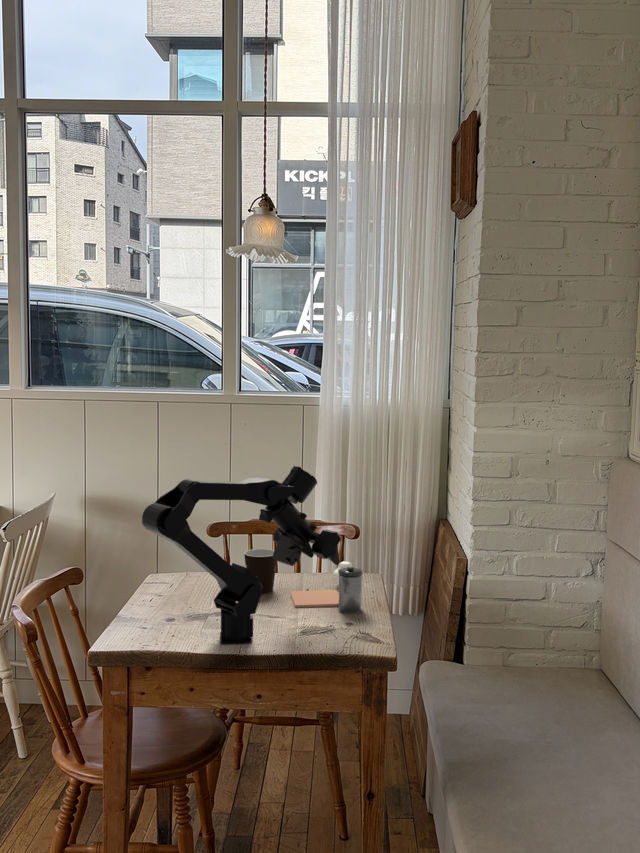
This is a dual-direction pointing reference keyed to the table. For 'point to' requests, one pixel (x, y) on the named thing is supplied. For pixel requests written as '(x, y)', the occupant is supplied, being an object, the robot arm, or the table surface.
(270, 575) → the coffee mug
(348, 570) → the press pot
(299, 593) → the plate
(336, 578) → the muffin
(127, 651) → the table surface
